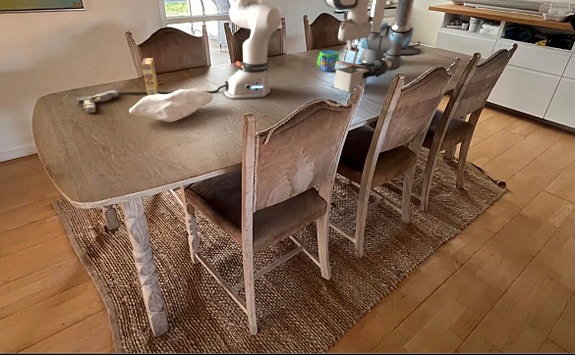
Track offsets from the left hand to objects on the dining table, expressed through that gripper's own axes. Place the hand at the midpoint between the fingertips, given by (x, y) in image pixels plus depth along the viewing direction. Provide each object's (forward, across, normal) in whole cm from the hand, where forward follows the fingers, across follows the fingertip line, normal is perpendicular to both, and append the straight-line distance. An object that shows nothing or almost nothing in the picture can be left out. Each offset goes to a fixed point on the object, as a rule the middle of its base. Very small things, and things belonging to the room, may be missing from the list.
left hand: (352, 48), depth 175 cm
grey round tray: (+18, +94, +34) cm, 102 cm away
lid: (+9, +2, 0) cm, 9 cm away
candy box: (+21, -81, +47) cm, 96 cm away
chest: (+19, +2, 0) cm, 19 cm away
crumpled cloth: (+21, -85, +22) cm, 90 cm away
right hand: (+12, +5, 0) cm, 14 cm away
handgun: (+21, -104, +50) cm, 117 cm away
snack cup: (+19, +14, +27) cm, 36 cm away
